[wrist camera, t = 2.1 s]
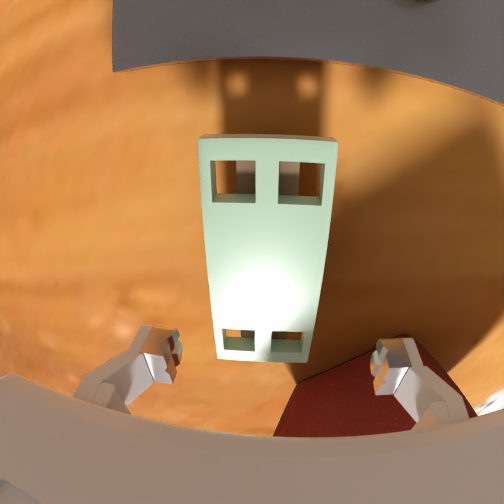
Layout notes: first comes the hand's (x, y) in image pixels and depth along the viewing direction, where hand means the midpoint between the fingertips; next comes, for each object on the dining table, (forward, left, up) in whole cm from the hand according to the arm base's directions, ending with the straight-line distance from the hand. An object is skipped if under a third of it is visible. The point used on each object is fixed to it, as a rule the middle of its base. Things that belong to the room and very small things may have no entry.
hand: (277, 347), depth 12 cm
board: (-1, 0, -6) cm, 6 cm away
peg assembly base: (+3, +19, -10) cm, 22 cm away
